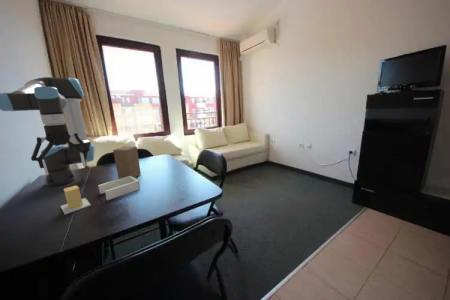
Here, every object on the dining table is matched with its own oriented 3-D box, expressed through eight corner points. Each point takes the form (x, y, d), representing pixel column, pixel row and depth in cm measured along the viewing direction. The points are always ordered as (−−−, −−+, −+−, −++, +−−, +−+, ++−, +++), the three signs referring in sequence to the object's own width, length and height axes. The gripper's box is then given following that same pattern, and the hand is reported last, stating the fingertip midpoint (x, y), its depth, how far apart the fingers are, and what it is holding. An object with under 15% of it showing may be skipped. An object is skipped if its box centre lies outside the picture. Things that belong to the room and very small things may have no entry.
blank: (68, 205, 91) (63, 188, 89) (80, 201, 95) (76, 185, 92) (70, 209, 88) (65, 191, 85) (83, 204, 91) (78, 188, 89)
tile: (60, 207, 91) (60, 205, 91) (85, 199, 98) (85, 197, 98) (64, 214, 85) (64, 213, 85) (90, 205, 92) (90, 204, 92)
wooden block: (131, 180, 121) (126, 150, 116) (118, 179, 123) (112, 149, 118) (141, 174, 131) (136, 146, 126) (128, 173, 133) (123, 146, 128)
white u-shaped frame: (100, 193, 104) (98, 185, 103) (131, 183, 116) (130, 175, 115) (107, 200, 96) (105, 191, 95) (140, 188, 108) (138, 180, 107)
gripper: (12, 128, 70) (29, 180, 76) (91, 121, 88) (100, 164, 94) (12, 127, 75) (28, 176, 81) (86, 120, 93) (95, 161, 99)
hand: (66, 170), depth 87 cm, fingers open, 13 cm apart
